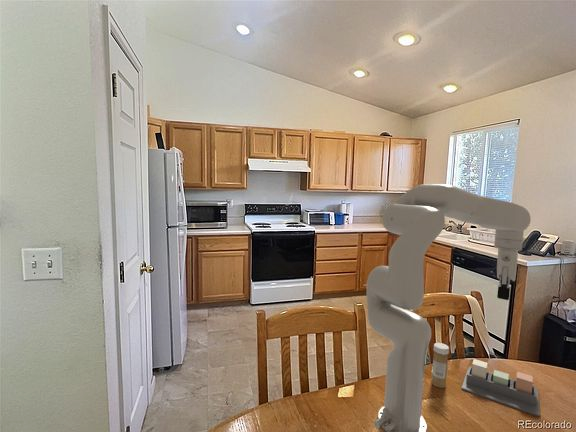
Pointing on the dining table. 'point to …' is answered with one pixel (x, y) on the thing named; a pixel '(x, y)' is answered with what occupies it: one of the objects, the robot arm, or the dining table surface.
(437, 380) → the sprinkles bottle
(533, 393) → the button panel
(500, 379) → the green button
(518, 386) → the terracotta button
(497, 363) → the dining table surface
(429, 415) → the dining table surface
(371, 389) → the dining table surface
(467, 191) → the robot arm
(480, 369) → the cream button
